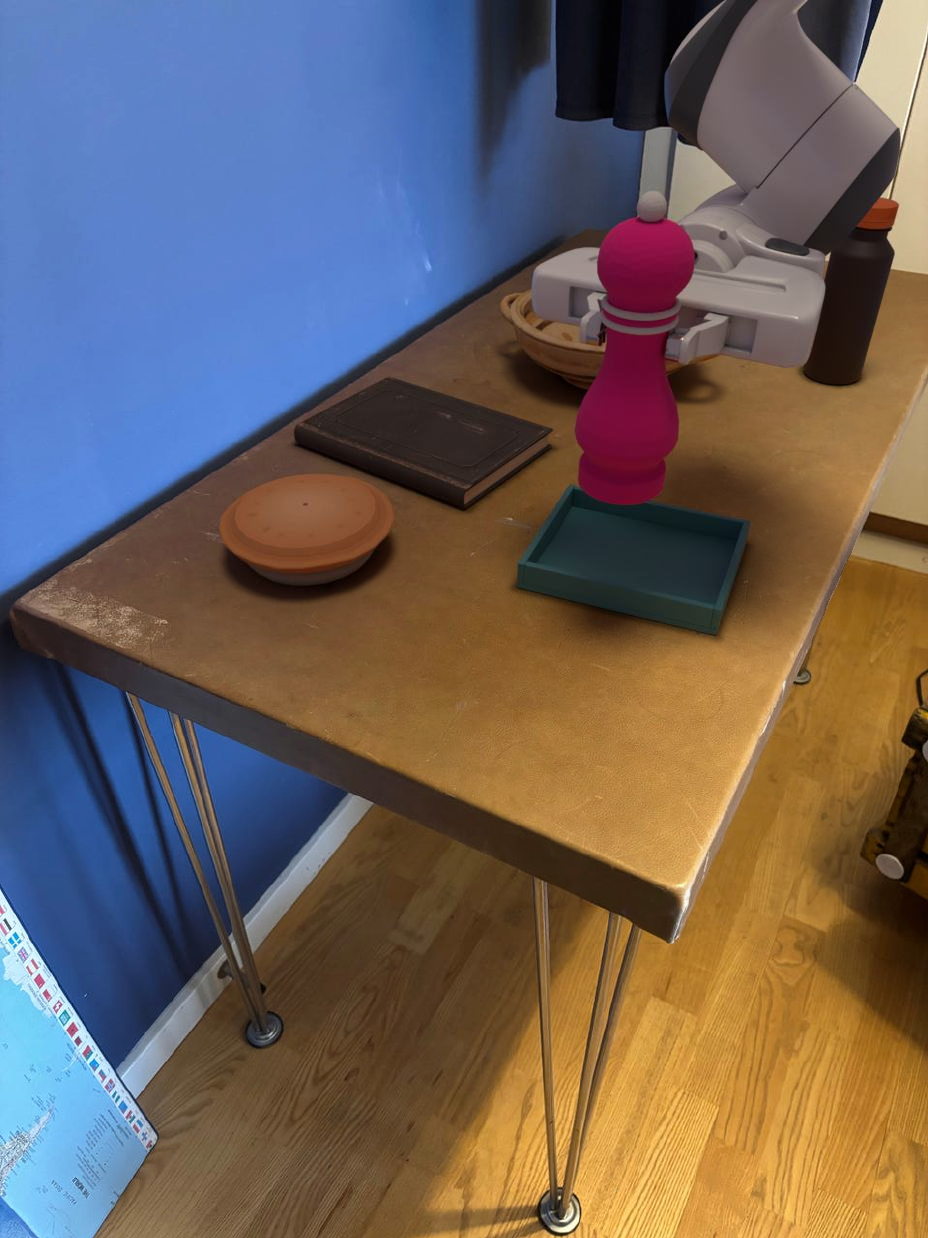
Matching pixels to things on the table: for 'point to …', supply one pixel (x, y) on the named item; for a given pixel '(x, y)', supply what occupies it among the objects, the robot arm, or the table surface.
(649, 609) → the tray
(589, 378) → the ceramic bowl
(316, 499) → the pie
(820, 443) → the table surface
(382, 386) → the hardcover book
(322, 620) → the table surface
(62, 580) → the table surface
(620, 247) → the pepper mill
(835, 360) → the bottle
